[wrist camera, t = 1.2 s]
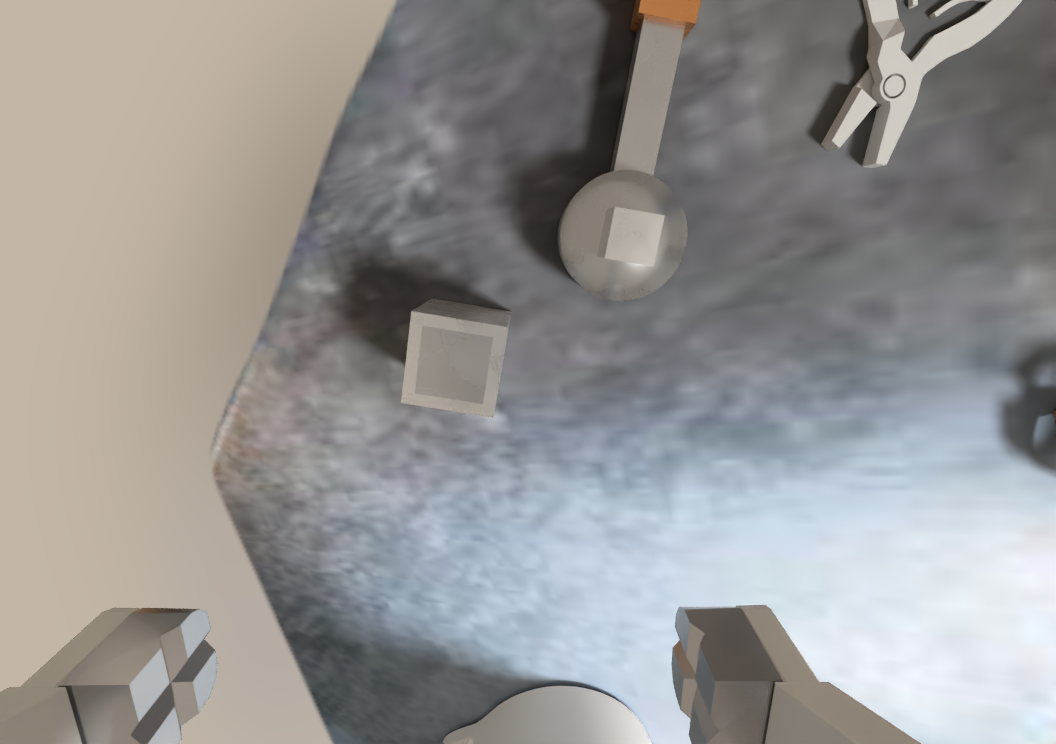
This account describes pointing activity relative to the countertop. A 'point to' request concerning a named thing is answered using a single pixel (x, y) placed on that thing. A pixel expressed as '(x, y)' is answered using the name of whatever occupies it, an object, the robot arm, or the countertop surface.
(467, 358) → the white open box
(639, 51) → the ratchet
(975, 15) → the pliers
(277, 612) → the countertop surface
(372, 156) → the countertop surface
